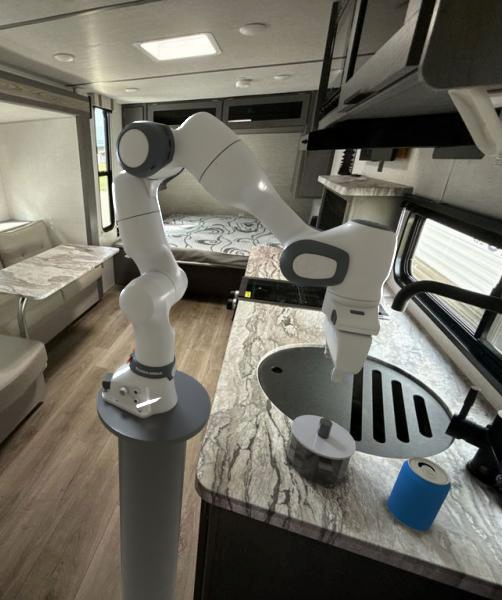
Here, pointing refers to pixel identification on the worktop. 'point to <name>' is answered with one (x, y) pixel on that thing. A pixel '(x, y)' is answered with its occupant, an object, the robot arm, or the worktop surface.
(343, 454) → the pot lid
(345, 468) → the pot
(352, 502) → the worktop surface
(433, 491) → the beverage can
